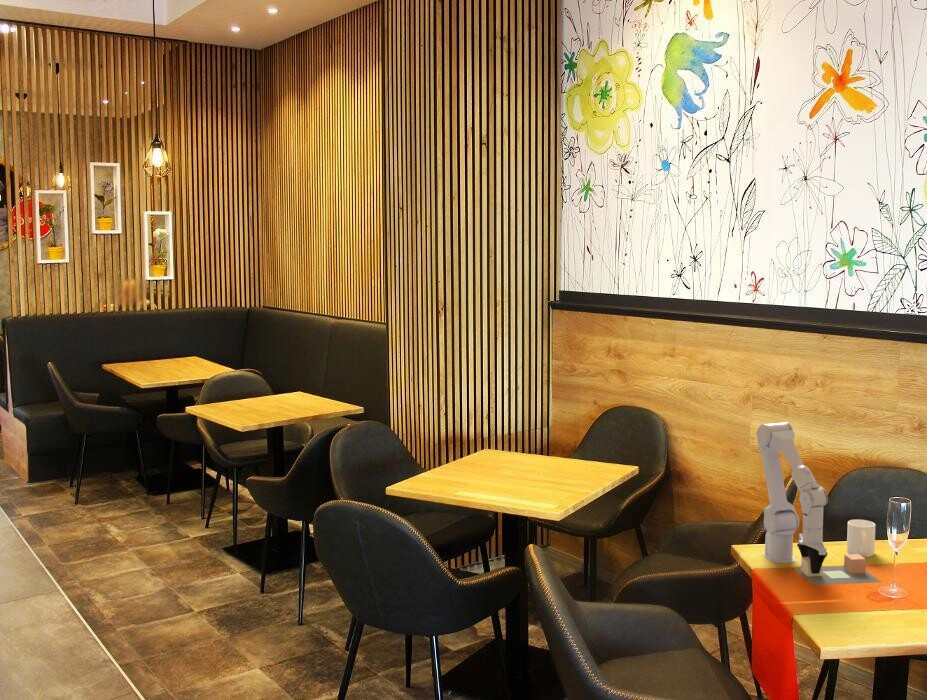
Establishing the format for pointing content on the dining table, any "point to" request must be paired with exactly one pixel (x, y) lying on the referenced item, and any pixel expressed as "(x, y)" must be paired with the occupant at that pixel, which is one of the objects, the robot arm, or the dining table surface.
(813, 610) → the dining table surface
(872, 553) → the mug
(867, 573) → the mat
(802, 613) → the dining table surface
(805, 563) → the cream block
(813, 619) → the dining table surface
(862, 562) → the terracotta block
